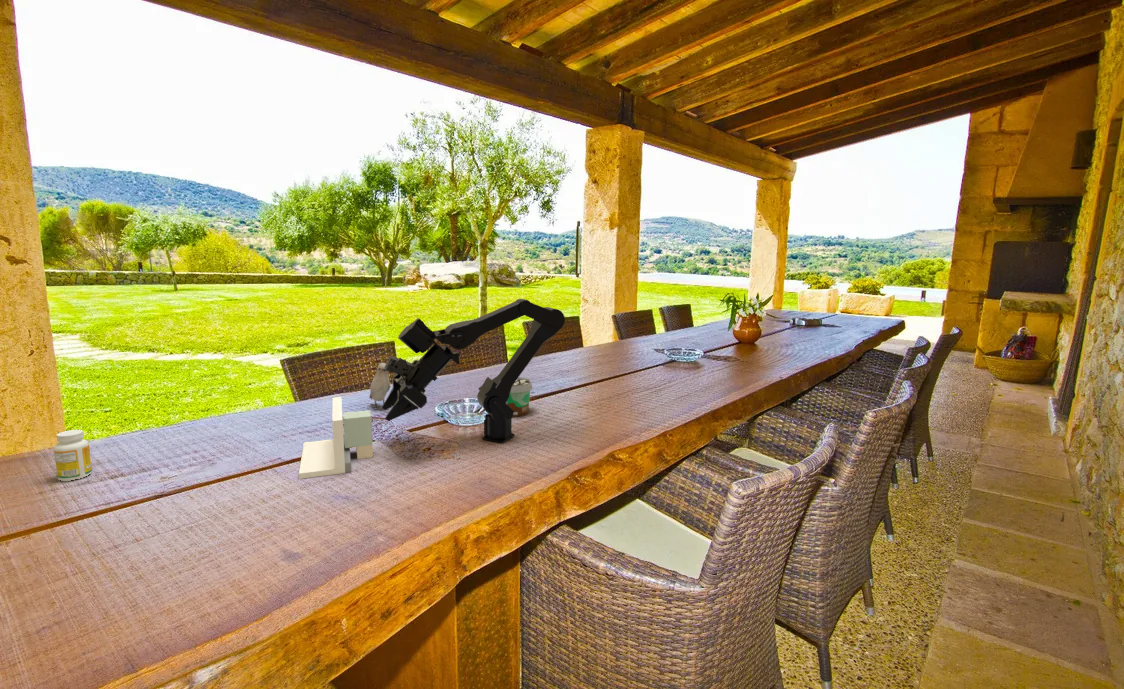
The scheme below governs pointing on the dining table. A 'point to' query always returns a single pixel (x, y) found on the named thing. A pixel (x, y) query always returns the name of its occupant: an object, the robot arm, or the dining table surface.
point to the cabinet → (359, 432)
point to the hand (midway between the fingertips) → (384, 414)
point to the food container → (520, 397)
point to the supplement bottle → (72, 456)
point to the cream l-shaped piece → (327, 450)
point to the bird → (380, 384)
